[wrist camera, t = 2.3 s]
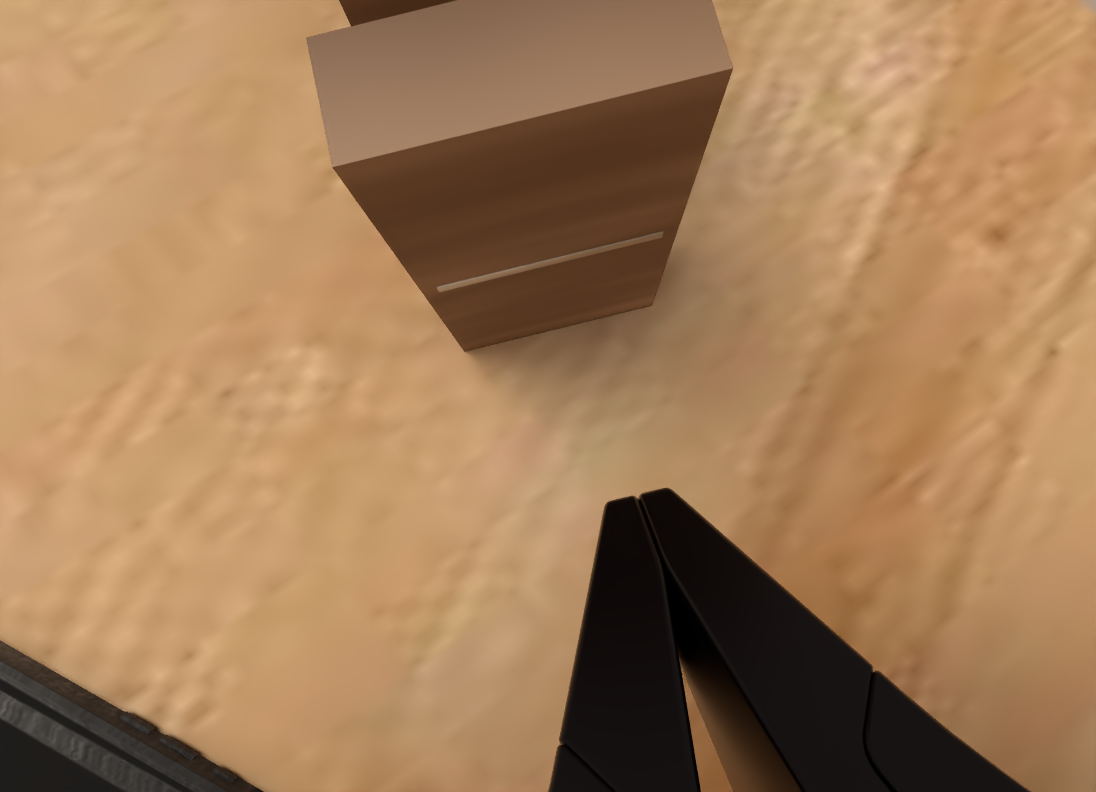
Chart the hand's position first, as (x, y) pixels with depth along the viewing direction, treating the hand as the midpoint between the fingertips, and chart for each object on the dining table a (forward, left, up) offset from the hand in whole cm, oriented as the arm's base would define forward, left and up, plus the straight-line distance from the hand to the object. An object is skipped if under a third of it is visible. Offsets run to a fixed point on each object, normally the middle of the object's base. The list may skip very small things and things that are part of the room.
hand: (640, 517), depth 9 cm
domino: (+6, -1, -9) cm, 10 cm away
